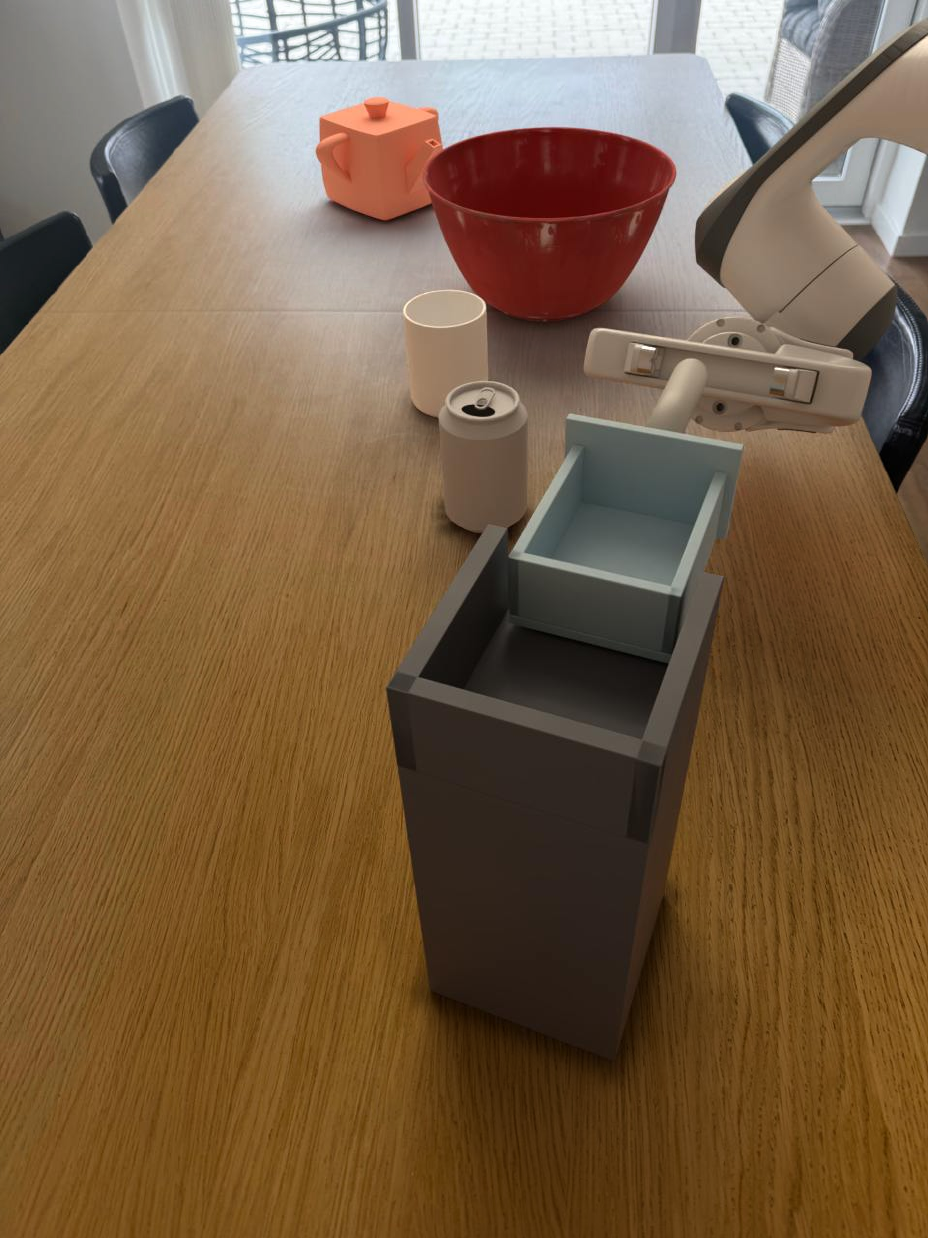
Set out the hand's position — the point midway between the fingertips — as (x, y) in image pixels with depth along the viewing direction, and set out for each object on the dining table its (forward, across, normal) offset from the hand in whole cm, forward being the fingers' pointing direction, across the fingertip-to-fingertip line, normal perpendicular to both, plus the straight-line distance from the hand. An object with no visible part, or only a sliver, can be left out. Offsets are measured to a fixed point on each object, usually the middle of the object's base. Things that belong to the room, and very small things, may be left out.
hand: (711, 370), depth 65 cm
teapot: (-72, -59, -17) cm, 94 cm away
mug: (-32, -30, +6) cm, 44 cm away
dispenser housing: (+18, 0, +34) cm, 38 cm away
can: (-15, -19, +16) cm, 29 cm away
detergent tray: (+16, 0, +8) cm, 18 cm away
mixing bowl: (-52, -28, -6) cm, 60 cm away
